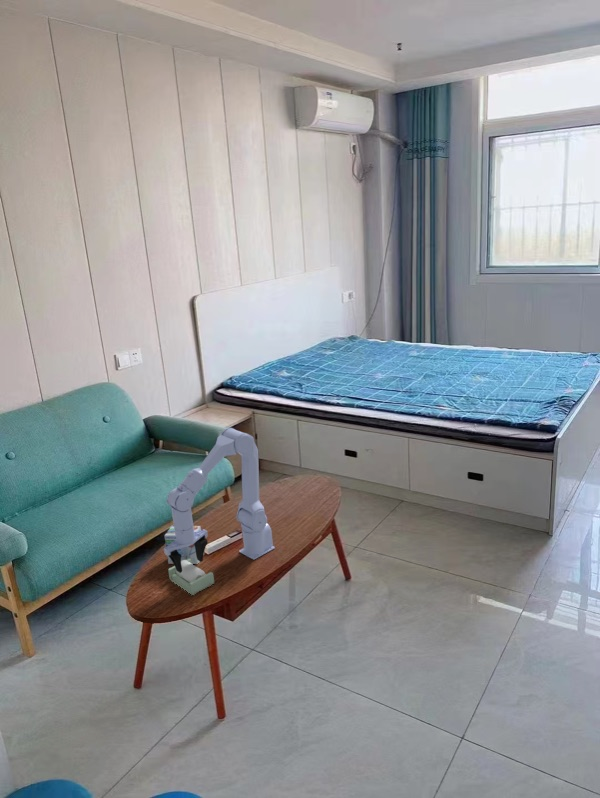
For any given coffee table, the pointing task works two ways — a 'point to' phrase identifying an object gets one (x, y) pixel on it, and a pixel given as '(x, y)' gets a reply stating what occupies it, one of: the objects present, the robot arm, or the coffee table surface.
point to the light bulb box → (185, 551)
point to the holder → (193, 586)
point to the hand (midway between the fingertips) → (189, 565)
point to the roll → (190, 571)
